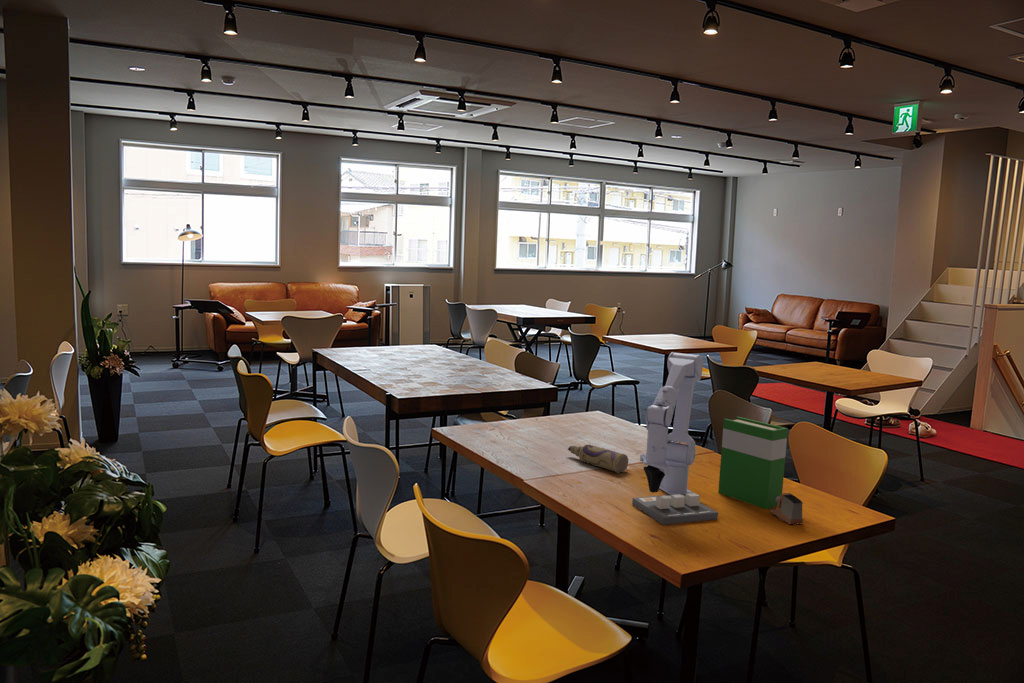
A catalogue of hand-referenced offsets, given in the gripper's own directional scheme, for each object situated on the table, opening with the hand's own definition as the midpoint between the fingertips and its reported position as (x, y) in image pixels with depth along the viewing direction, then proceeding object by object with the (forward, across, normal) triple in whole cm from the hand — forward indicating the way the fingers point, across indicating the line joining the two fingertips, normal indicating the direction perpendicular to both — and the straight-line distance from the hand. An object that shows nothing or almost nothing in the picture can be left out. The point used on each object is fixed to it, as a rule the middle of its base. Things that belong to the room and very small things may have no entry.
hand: (653, 491), depth 212 cm
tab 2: (+3, +5, +10) cm, 12 cm away
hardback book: (+5, -1, +35) cm, 36 cm away
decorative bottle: (+6, -46, +5) cm, 47 cm away
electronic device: (+6, +16, +34) cm, 38 cm away
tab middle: (+3, +5, +5) cm, 8 cm away
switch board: (+5, +3, +5) cm, 8 cm away
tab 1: (+3, +5, 0) cm, 6 cm away
